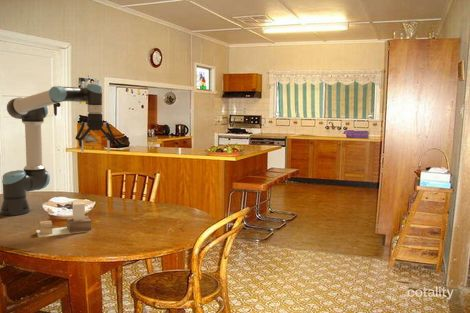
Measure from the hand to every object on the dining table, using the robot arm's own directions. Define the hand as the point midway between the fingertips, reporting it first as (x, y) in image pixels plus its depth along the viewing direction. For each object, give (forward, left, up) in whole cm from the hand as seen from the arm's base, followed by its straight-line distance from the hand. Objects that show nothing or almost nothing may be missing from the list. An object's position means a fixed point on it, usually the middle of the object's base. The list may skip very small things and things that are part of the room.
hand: (95, 152), depth 232 cm
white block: (+20, -12, -31) cm, 38 cm away
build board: (+20, -19, -36) cm, 46 cm away
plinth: (+20, -12, -36) cm, 43 cm away
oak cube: (+20, -27, -36) cm, 49 cm away
